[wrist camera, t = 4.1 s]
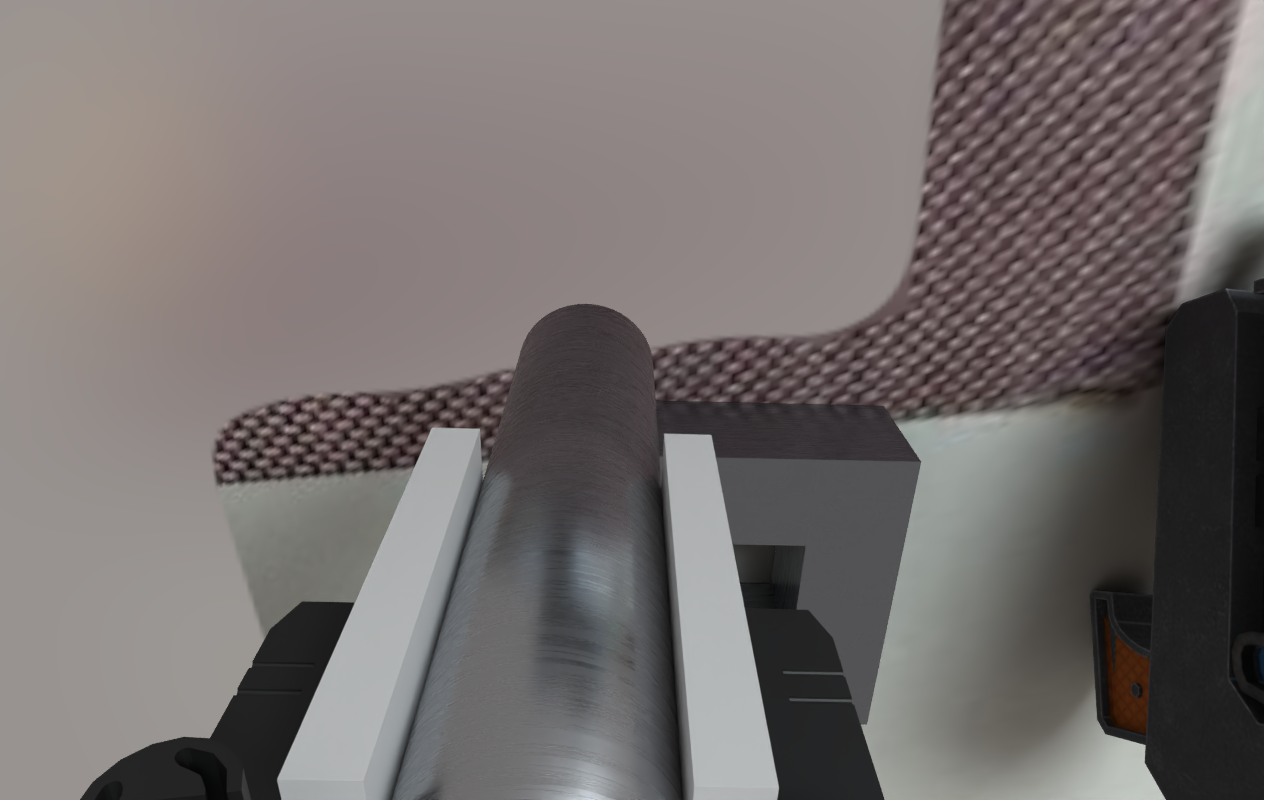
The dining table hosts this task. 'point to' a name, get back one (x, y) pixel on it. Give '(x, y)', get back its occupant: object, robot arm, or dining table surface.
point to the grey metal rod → (559, 591)
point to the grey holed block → (815, 512)
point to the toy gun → (1198, 569)
